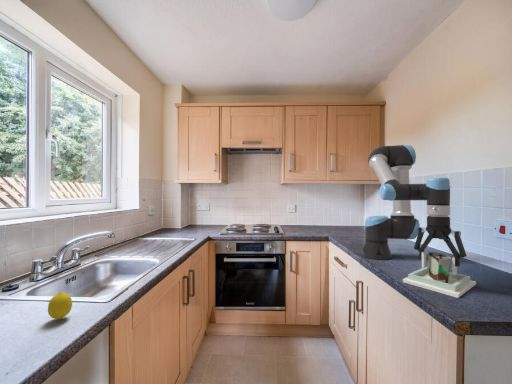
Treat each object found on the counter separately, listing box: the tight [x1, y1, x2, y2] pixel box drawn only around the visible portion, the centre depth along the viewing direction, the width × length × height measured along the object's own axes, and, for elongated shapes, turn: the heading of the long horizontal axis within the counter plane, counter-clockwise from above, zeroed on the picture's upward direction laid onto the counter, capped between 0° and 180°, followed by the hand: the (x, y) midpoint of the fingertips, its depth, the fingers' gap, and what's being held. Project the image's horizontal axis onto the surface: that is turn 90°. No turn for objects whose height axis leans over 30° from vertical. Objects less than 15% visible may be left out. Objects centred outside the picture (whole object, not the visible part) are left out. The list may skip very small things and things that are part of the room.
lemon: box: [47, 292, 73, 321], centre depth 69 cm, size 6×6×8 cm
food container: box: [427, 251, 452, 283], centre depth 95 cm, size 12×6×10 cm, turn 161°
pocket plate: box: [402, 266, 477, 299], centre depth 96 cm, size 18×21×3 cm
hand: (438, 270), depth 96 cm, fingers open, 10 cm apart
